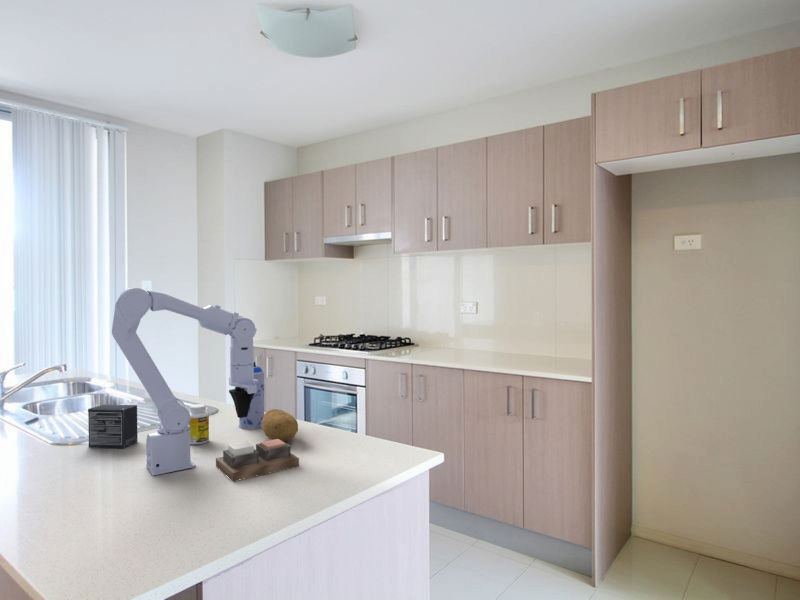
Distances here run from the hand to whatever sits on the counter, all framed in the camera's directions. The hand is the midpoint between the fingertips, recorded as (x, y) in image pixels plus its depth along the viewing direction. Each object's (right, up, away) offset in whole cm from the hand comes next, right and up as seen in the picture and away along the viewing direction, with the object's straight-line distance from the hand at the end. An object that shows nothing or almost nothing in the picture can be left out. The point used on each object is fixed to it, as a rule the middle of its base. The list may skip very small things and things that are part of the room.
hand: (242, 416), depth 129 cm
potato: (+7, -10, +13) cm, 18 cm away
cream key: (+3, -6, -10) cm, 12 cm away
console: (+6, -10, -8) cm, 14 cm away
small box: (-38, -10, +9) cm, 40 cm away
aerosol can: (-6, -9, +27) cm, 30 cm away
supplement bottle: (-16, -10, +11) cm, 21 cm away
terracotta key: (+9, -7, -5) cm, 13 cm away
